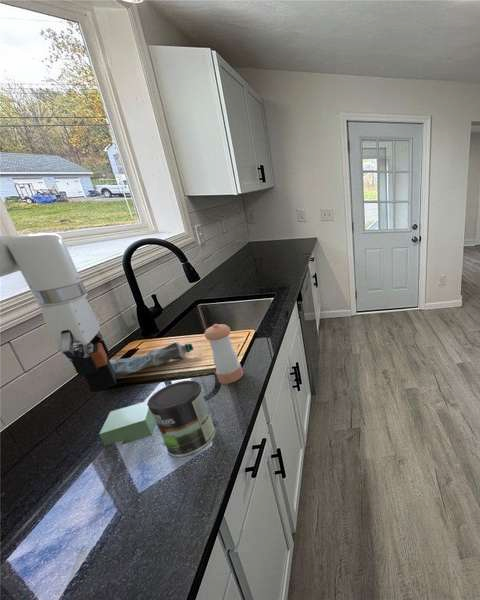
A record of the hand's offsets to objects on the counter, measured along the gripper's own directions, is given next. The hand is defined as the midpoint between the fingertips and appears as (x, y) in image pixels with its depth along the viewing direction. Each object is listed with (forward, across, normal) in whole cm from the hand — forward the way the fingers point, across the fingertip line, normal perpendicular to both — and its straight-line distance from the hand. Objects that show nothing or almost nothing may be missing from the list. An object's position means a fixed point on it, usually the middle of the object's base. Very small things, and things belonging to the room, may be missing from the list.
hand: (95, 364), depth 73 cm
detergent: (+21, -36, 0) cm, 42 cm away
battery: (+6, 0, 0) cm, 6 cm away
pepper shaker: (+21, -14, +24) cm, 35 cm away
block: (+21, -1, +1) cm, 21 cm away
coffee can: (+21, +11, +15) cm, 28 cm away
